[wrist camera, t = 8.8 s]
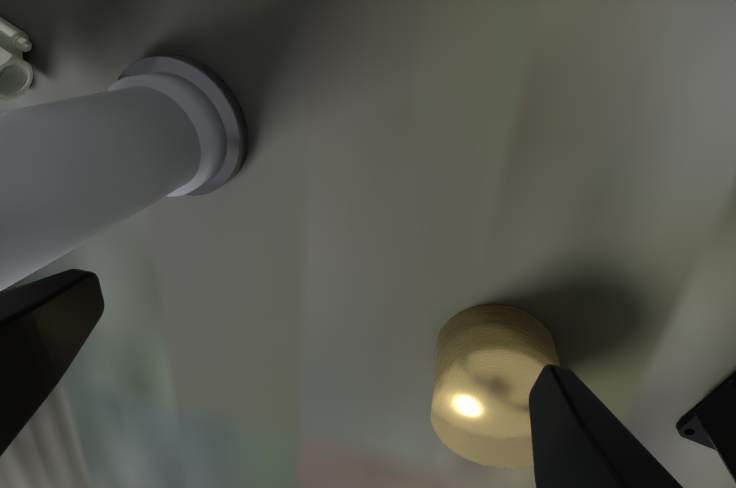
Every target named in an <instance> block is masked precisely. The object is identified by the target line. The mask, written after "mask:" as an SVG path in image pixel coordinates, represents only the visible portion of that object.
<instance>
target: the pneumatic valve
mask: <svg viewBox="0 0 736 488" xmlns="http://www.w3.org/2000/svg"><path fill="white" fill-rule="evenodd" d="M31 48H32V43H31V42H29V38H28V36H27V34H25V33H24V32H23V31H21V30H20V29H18V28H17V27H15V26H14V25H12V24H11V23H9V22H8V21H6V20H5V19H3V18H2V17H0V99H2V100H11V99H14V98H17V97H19V96H21V95H23V94H25V91H26V90H27V89H28V88H29V86H30V85H31V82H32V79H33V71H32V66H31V64H29V63H28V62H26V61H25V60H23V52H27V51H30V50H31ZM22 51H23V52H22Z"/></svg>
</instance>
